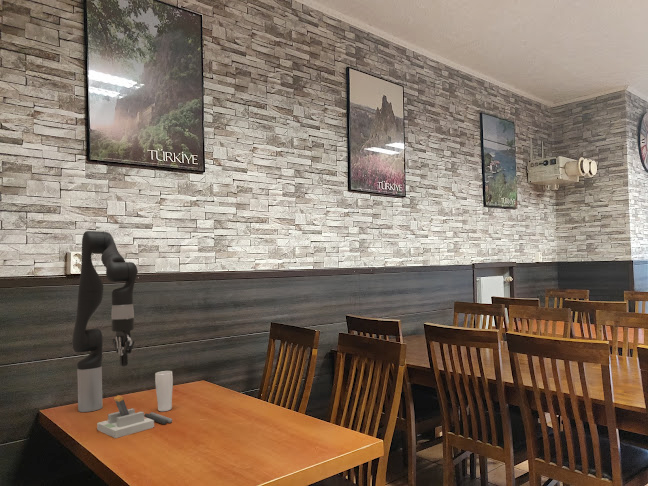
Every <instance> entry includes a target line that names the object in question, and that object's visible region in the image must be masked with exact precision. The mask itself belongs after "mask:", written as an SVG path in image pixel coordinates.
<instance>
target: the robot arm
mask: <svg viewBox="0 0 648 486" xmlns="http://www.w3.org/2000/svg"><path fill="white" fill-rule="evenodd" d="M115 242H116V241H115V240H114V236H112V234H111V233H110V232H108V231H99V230H87V231H85V232H83V235H82V238H81V259H80V260H81V266H80V274H79V275H80V276H79V285H78V293H77V305H76V306H77V308H76V309H77V310H76V316H75V317H76V318H75V323H74V329H73V332H72V341H71V343H72V349H73V351H74V352H75V353H78V354H79V353H80V354H81V353H88V352H89V354H88V355H87V356H85V357H84V358H82V359H80V360H79V361H78V362H77V364H76V365H77V366H76V367H77V373H76V374H77V411H78V412H80V413H87V412H88V413H89V412H93V411H98V410H101V409H103V373H102V372H103V368H102V365H103V364H102V363H103V345H104V344H103V343H104V342H103V341H104V339H103V337H104V336H103V333H102V330H101V329H100V328H87V326H88V323H89V321H90V319H91V317H92V316H93V314H94V313H95V312H96V310H97V309H98V308H99V307H100V305H101V303H102V301H103V298H104V297H103V296H104V294H103V293H104V283H103V280H102V278H101V276H100V275H99V274H98V272H97V270H96V268H95V267H94V264H93V261H92V255H97V254H98V255H101V257H100V258H101V263H102V264H103V265H104V267H105V269H106V270H105V277H106V279H107V280H108V281H109V282H112V283H121V282H122V283H123V282H125V283H124V285H123V286H121V287H118V288H115V289H112V291H111V315H110V316H111V331H112V332H115V338H112V344H113V346H114V349H115V351H116V354H118V355H119V365H120V366H121V367H125V366H128V355H130V354H131V353H132V350H133V348H134V345H135V340H134V339H132V335H131V331H133V330H134V329H135V310H134V309H135V308H134V299H133V298H134V297H133V293H134V288H135V282H136V279H137V275H138V268H137V265H136V264H135V263H134V262H133V261H132V262H131V261H125V259H124V257H123V255H121V254H120V252H119V251H118V248H117V245H116V243H115Z"/></svg>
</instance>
